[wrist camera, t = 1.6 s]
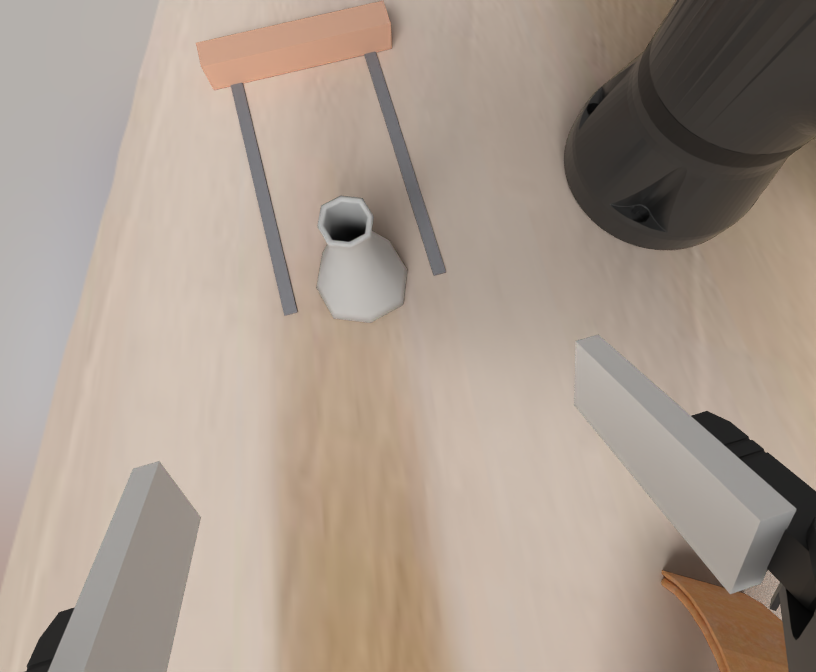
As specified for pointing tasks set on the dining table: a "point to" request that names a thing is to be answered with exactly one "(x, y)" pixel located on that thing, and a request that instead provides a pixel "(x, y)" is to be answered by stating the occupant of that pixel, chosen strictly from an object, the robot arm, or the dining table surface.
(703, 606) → the arch
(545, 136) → the dining table surface
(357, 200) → the flask
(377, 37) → the stop bar lane
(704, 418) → the robot arm
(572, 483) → the dining table surface
